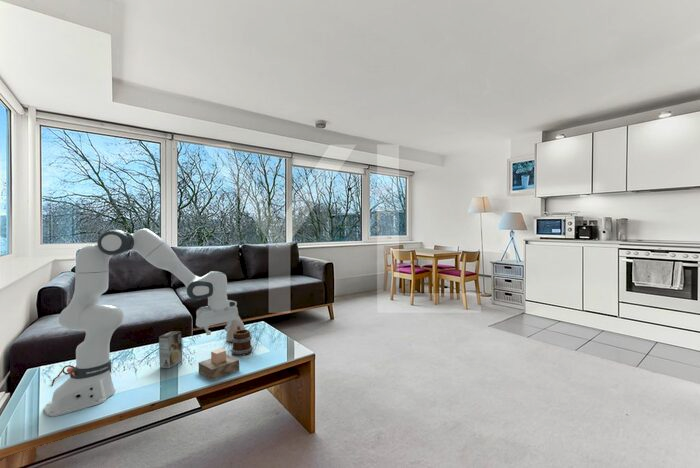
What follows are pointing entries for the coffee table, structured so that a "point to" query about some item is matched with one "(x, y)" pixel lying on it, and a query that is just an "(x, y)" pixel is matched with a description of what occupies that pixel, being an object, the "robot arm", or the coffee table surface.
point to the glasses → (61, 372)
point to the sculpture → (234, 328)
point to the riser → (218, 367)
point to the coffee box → (170, 349)
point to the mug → (241, 342)
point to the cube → (218, 356)
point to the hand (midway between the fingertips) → (217, 332)
